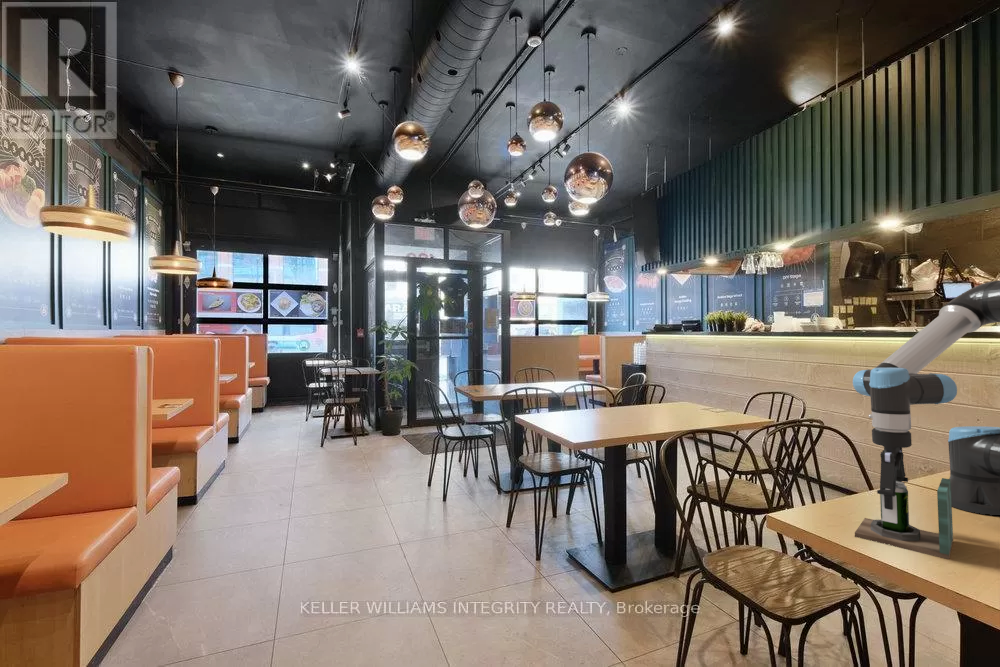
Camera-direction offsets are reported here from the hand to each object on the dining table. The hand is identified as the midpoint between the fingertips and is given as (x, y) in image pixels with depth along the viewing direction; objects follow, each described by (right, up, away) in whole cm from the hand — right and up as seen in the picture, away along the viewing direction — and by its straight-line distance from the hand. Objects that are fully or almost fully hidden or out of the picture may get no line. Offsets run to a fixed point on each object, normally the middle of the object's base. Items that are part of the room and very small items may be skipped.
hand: (894, 514), depth 114 cm
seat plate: (+1, -6, -1) cm, 6 cm away
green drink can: (0, -5, 0) cm, 5 cm away
